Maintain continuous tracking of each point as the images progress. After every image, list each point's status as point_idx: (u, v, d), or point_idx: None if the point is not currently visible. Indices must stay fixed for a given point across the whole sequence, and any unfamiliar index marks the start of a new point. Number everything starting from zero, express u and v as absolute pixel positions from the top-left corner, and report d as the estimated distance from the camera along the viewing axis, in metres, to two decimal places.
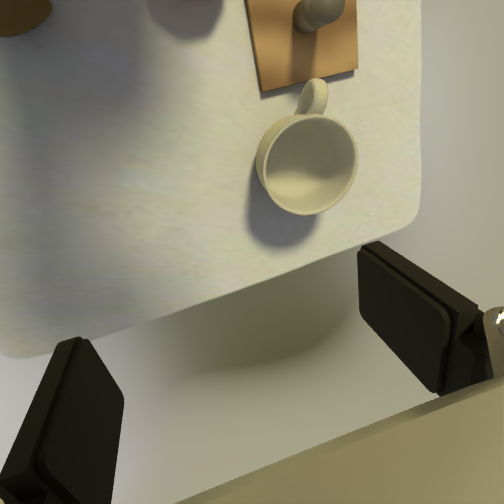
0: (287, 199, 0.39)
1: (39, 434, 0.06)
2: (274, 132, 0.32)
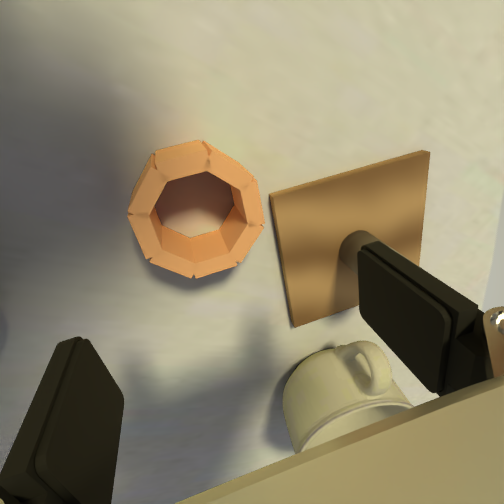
0: (320, 434, 0.31)
1: (39, 435, 0.06)
2: (314, 409, 0.24)
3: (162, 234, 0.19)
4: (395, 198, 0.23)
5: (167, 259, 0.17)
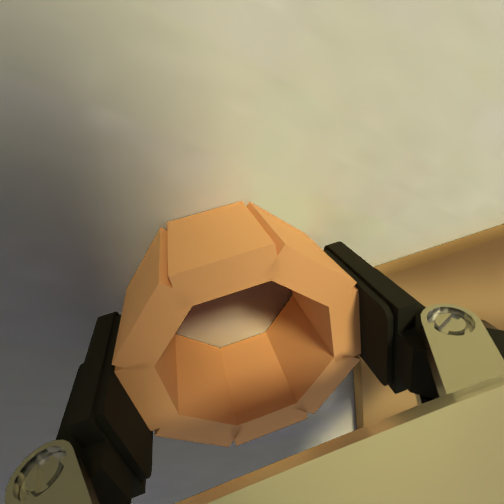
0: None
1: (95, 390, 0.07)
2: None
3: (176, 360, 0.11)
4: None
5: (188, 427, 0.09)
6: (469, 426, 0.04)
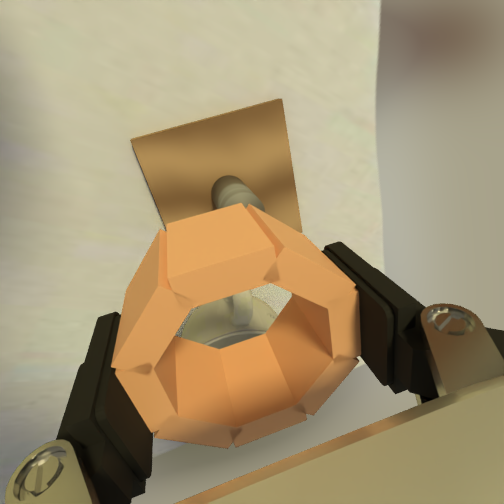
0: None
1: (96, 390, 0.07)
2: None
3: (176, 361, 0.11)
4: (257, 144, 0.25)
5: (187, 429, 0.09)
6: (469, 426, 0.04)
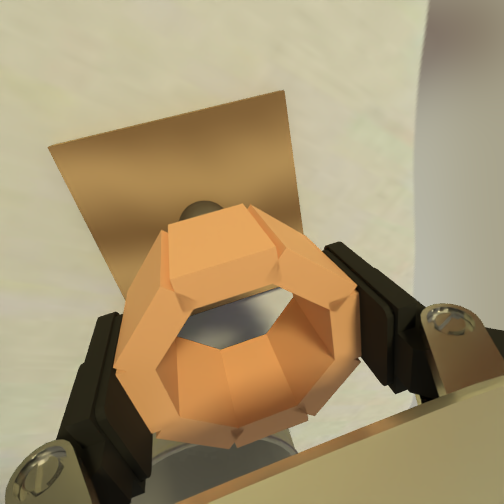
0: (199, 467, 0.24)
1: (95, 390, 0.07)
2: None
3: (177, 362, 0.11)
4: (246, 156, 0.17)
5: (189, 429, 0.09)
6: (469, 426, 0.04)
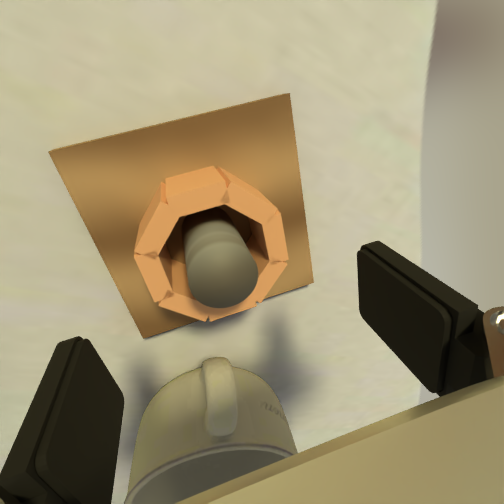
0: (201, 476, 0.24)
1: (39, 434, 0.06)
2: (145, 453, 0.17)
3: (172, 270, 0.17)
4: (251, 160, 0.17)
5: (178, 302, 0.15)
6: (469, 426, 0.04)
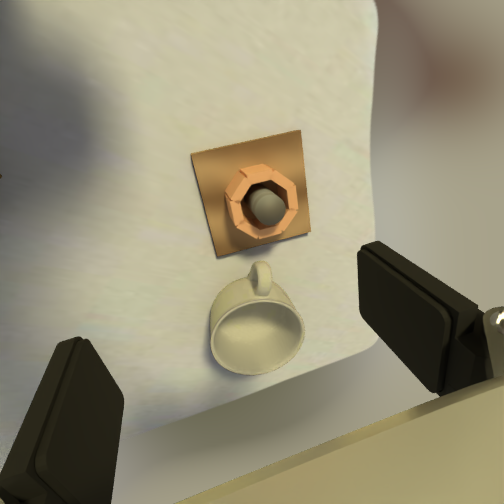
0: (242, 347, 0.40)
1: (39, 435, 0.06)
2: (222, 308, 0.34)
3: None
4: (280, 162, 0.34)
5: (245, 226, 0.32)
6: (469, 426, 0.04)
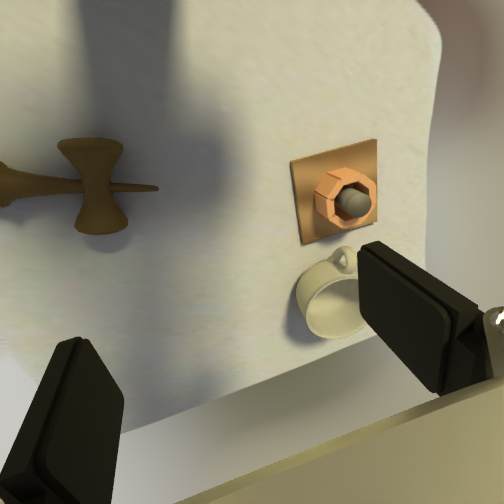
0: (319, 318, 0.49)
1: (39, 434, 0.06)
2: (314, 285, 0.42)
3: None
4: (359, 165, 0.42)
5: (335, 219, 0.40)
6: (469, 426, 0.04)
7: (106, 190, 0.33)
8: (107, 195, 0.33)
